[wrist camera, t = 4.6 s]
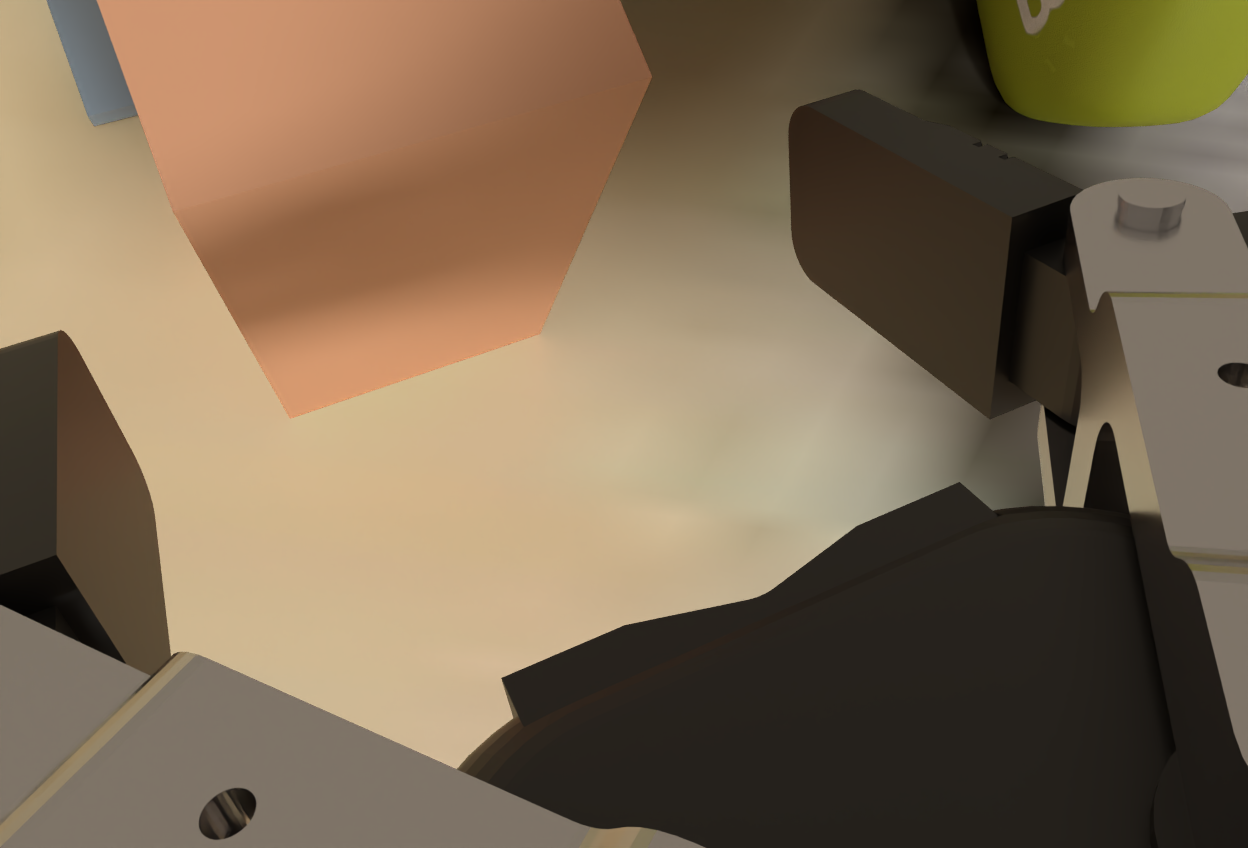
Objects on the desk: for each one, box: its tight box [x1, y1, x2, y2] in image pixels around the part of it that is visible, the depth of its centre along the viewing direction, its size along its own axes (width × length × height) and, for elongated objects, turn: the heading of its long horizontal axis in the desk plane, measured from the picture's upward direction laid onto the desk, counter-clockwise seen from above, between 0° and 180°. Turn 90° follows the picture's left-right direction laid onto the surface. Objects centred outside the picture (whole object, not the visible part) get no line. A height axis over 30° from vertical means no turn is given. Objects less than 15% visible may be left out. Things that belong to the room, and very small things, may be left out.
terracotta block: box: [97, 0, 652, 418], centre depth 16 cm, size 5×5×10 cm
